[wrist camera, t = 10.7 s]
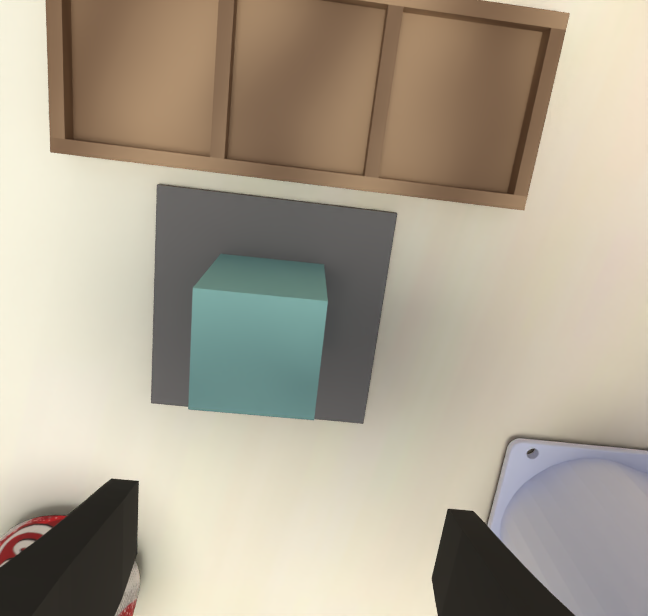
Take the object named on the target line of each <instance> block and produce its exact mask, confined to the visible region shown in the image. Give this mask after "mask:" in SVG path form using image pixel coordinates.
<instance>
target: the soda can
mask: <svg viewBox="0 0 648 616" xmlns="http://www.w3.org/2000/svg"><path fill="white" fill-rule="evenodd" d="M65 517H66V516H61V515H51V516H41V517H37V518H33V519H29V520H27V521H24V522H22V523H20V524H18V525H16V526H15V527H13V528H11V529H10V530H9V531H8V532H7V533H6V534H4V535H3V536H2V537H1V538H0V567H1V566H2V565H4V564H5V563H6V562H8V561H9V560H11V559H12V558H13V557H15V556H16V555H17V554H19V553H20V552H21V551H23V550H24V549H26V548H27V547H28V546H30V545H31V544H32V543H34V542H35V541H36V540H38V539H39V538H40V537H41V536H43V535H44V534H45V533H46V532H48V531H49V530H50V529H51V528H53V527H54V526H55V525H56V524H58V523H59V522H60V521H61V520H62V519H64V518H65ZM139 588H140V574H139V569H138V565H137V563H136V561H135V562H134V565H133V568H132V571H131V574H130V577H129V580H128V583H127V586H126V589H125V592H124V595H123V598H122V600H121V603H120V605H119V607H118V609H117V612H116V614H115V616H133V613H134V609H135V605H136V601H137V597H138V593H139Z"/></svg>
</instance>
